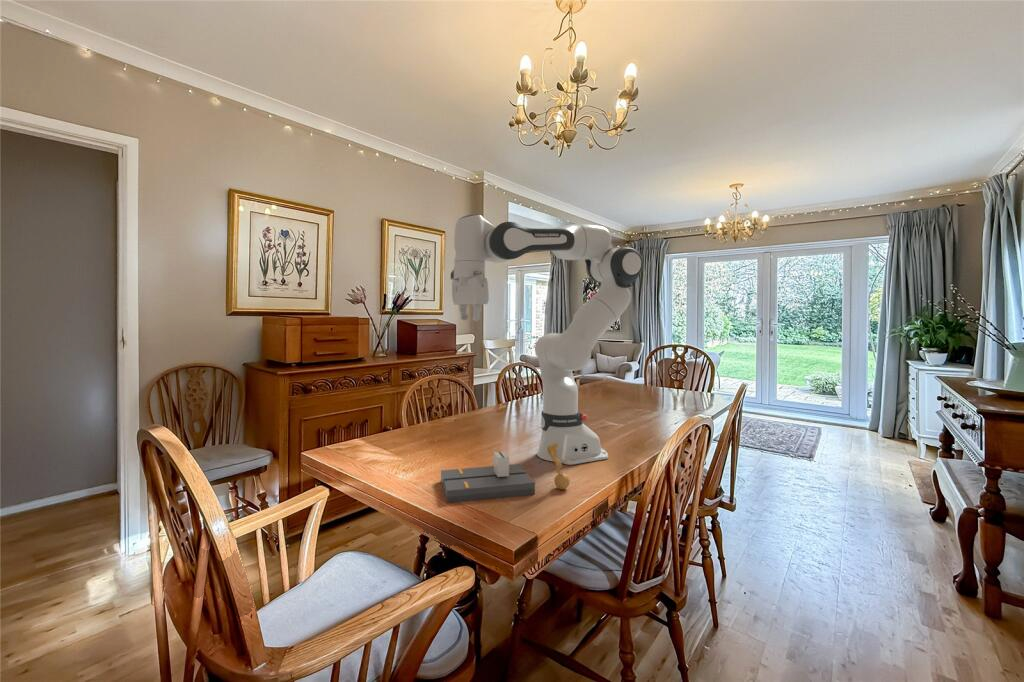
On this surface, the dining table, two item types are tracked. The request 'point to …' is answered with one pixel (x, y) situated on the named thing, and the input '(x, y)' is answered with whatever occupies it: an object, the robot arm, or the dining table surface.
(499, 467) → the fader tab
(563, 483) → the figurine
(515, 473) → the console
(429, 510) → the dining table surface
